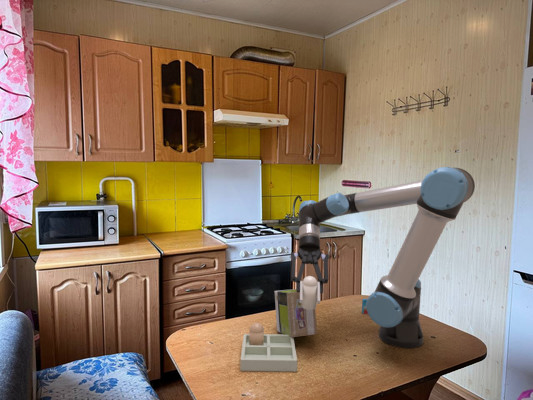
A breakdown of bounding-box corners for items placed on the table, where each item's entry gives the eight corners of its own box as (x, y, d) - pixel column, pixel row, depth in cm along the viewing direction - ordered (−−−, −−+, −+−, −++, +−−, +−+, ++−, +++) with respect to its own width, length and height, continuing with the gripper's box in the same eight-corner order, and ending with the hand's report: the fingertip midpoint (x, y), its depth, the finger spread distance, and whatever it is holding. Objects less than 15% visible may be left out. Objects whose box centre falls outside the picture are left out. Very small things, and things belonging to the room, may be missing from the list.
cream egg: (315, 303, 127) (317, 274, 125) (316, 310, 122) (318, 279, 120) (300, 302, 127) (302, 273, 126) (301, 309, 122) (303, 278, 121)
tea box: (300, 328, 142) (318, 335, 128) (276, 331, 139) (291, 338, 125) (298, 287, 144) (314, 290, 130) (273, 290, 141) (288, 292, 127)
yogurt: (388, 311, 159) (389, 297, 159) (390, 313, 158) (390, 299, 157) (361, 313, 158) (362, 298, 157) (363, 314, 156) (363, 300, 155)
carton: (292, 344, 129) (293, 318, 128) (296, 371, 112) (297, 341, 111) (243, 343, 129) (243, 317, 128) (240, 370, 112) (240, 340, 111)
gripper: (333, 245, 137) (336, 307, 123) (284, 243, 137) (281, 304, 124) (335, 235, 131) (339, 299, 117) (284, 232, 131) (282, 296, 118)
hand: (309, 301), depth 120 cm, fingers closed on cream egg, 5 cm apart
